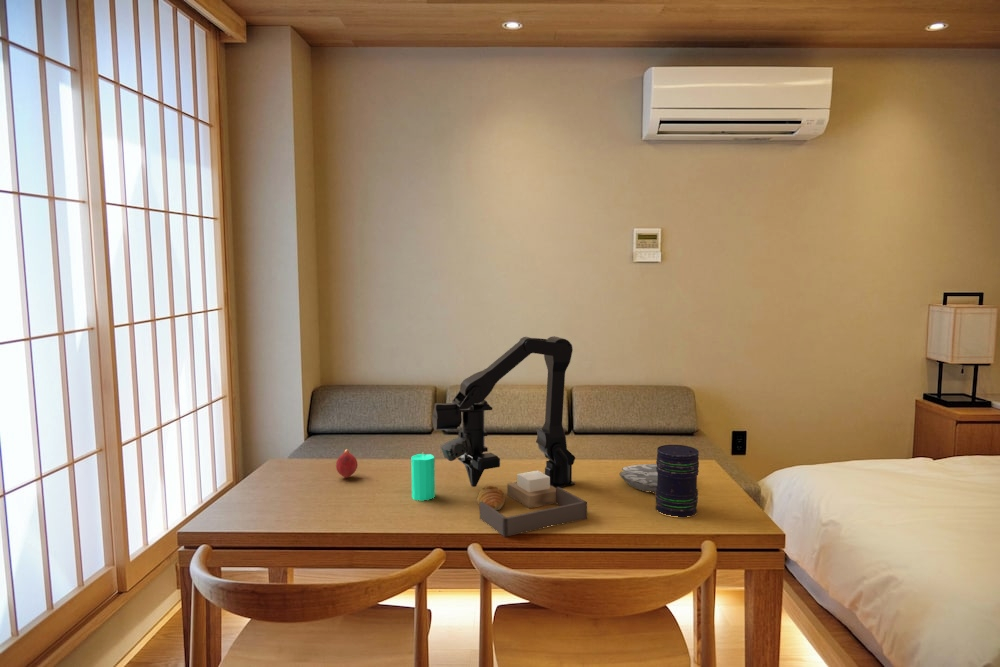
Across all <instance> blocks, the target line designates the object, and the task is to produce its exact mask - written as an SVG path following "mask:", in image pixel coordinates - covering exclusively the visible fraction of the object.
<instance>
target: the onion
mask: <svg viewBox="0 0 1000 667" xmlns="http://www.w3.org/2000/svg"><path fill="white" fill-rule="evenodd" d="M335 463H336V464H335V467H336V471H337V473H338V474H339V475H340V476H341V477H344V478H346V479H349V478H350V477H352V476H353V475H354V473H355V472H356V471H357V469H358V461H357V458H356V457H355V456H354V455H353V454H352V453H351V452H350V450H349V449H345V450H344V451H343V453H342V454H341V455H339V457H338V458H337V459H336V462H335Z"/></svg>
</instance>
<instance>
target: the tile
mask: <svg viewBox="0 0 1000 667" xmlns="http://www.w3.org/2000/svg"><path fill="white" fill-rule="evenodd" d="M516 482H517V485H518V486H519V487H521V488H523V489H524V490H526V491H528V492H534V491H540V490H545V489H550V477H549V476H547V475H545V473H543V472H541V471H540V470H538V469H537V470H533V471H527V472H522V473H520V472H519V473H517V475H516Z"/></svg>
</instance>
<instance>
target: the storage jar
mask: <svg viewBox="0 0 1000 667" xmlns="http://www.w3.org/2000/svg"><path fill="white" fill-rule="evenodd" d="M656 451H657V452H656V453H657V455H656V463H655V464H657V467H656V469H657V473H658V476H657V486H656V494H655V504H656V505H655V510H656V509H657V510H658V511H659V512H661V513H663V514H666V515H671V516H678V517H687V516H692V515H695V514H696V513H698V510H697V508H698V501H699V499H698V498H699V497H698V495H699V490H698V489H697V485H698V484H697V483H698V475H699V472H700V471H699V467H700V466H699V465H700V461H699V454H700V453H699V452H700V451H699V449H697V448H696V447H693V446H690V445H689V446H688V445H683V444H664V445H660V446H658V447H657V448H656ZM696 515H697V514H696ZM696 515H695V516H696ZM692 517H693V516H692Z"/></svg>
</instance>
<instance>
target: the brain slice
mask: <svg viewBox="0 0 1000 667" xmlns="http://www.w3.org/2000/svg"><path fill="white" fill-rule="evenodd" d="M656 467H657V464H656V463H646V464H645V463H643V464H634V465H628V466H627V465H626V466H625V467H622V468H621V470H622V471H620V473H619V476H620V478H621V479H622V480H624V482H626V483H627V484H628V485H629V486H630V487H631V486H633V487H632V488H634V489H635V488H637V489H639V490H642V491H641V492H643V491H651V492H654V493H656V486H657V476H658V473H657V469H656ZM637 489H636V490H637ZM639 490H638V491H639ZM654 493H653V494H654Z"/></svg>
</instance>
